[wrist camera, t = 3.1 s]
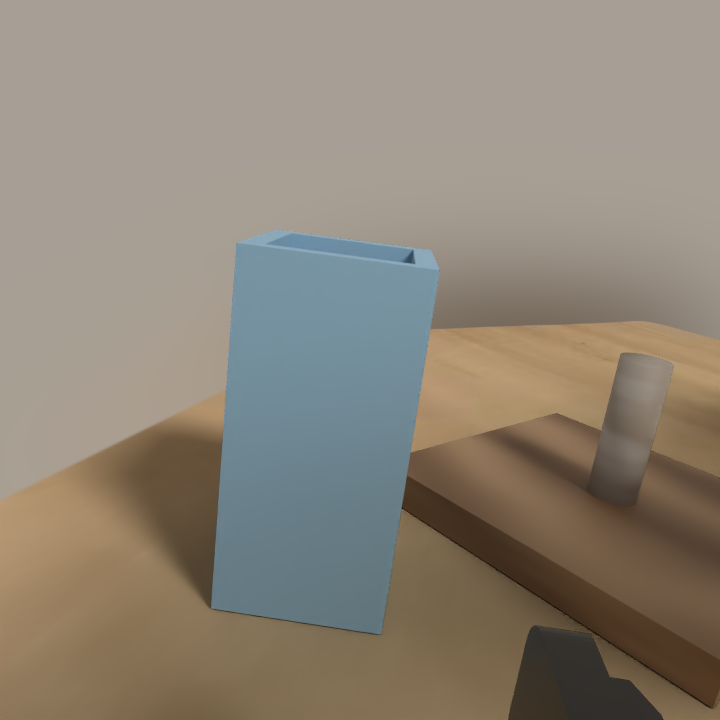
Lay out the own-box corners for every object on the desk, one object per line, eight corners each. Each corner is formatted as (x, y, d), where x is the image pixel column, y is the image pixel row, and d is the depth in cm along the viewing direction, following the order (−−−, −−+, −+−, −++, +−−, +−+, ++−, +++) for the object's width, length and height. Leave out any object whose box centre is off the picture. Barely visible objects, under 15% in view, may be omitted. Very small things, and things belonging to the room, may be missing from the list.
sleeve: (251, 519, 24) (276, 229, 21) (386, 540, 24) (431, 250, 21) (210, 608, 19) (236, 242, 16) (381, 634, 19) (439, 270, 16)
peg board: (551, 437, 36) (579, 312, 34) (834, 558, 27) (898, 394, 25) (377, 491, 27) (401, 326, 25) (712, 708, 17) (797, 466, 15)
